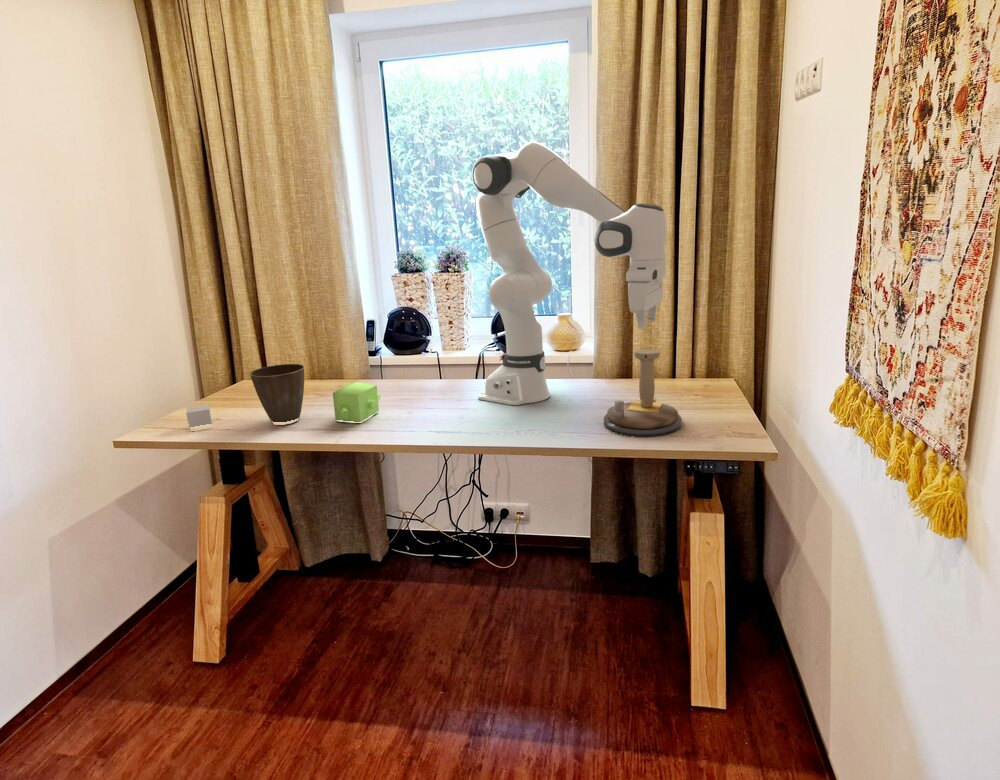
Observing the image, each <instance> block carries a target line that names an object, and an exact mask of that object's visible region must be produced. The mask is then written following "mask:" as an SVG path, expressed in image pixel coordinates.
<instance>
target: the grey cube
mask: <svg viewBox="0 0 1000 780" xmlns="http://www.w3.org/2000/svg"><path fill="white" fill-rule="evenodd" d="M185 414H186V417H187V418H186V419H187V422H188V427H189V429H190V427H195V426H200V425H206V424H213V418H212V414H211V409H210V404H202V405H197V406H195V405H194V406H191V407H186V413H185ZM211 418H212V419H211Z"/></svg>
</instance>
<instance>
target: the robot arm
mask: <svg viewBox="0 0 1000 780" xmlns="http://www.w3.org/2000/svg"><path fill="white" fill-rule="evenodd" d="M471 179H472V183H473V186H474V187H475V189H476V190H477V191H478V192H479V194H478V195H477V197H476V200H475V205H476V207H475V208H476V213H477V219H478V222H479V226H480V229H481V232H482V236H483V238H484V240H485V243H486V247H487V250H488V252H489V255H490V257H491V259H492V260H493V261H494V262H495V263H497V264H498V265H499V267H500V268H501V269H502V270H503V272H504V273H503V274H502V275H500V276H498V277H496V278H495V279H494V280H493V281H492V282H491V283H490V285H489V289H488V298H489V301H490V302H491V304H492V305H493V306H494V308H496V309H497V310H498V314H499V315H500V317H501V320H502V324H503V327H504V333H505V334H504V335H505V344H506V345H505V346H506V347H505V348H506V352H505V353H503V354H502V355H500V356H499V358H500V359H499V361H502V363H501V365H500V366H498V367H497V369H495V370H494V371H493V372H492V373H490V374H489V375H488V376H487V378H486V381H485V386H484V389H483V390H482V391H480V392H479V394H478V399H479V400H483V401H487V402H494V403H499V404H504V405H511V406H518V405H523V404H531V403H537V402H543V401H545V400H547V399H548V398H550V397H551V394H550V390H549V388H548V384H547V379H546V374H545V370H546V358H545V351H544V350H543V349H544V348H543V329H542V328H543V327H542V325H541V324H540V323H539V322H538V321H537V319H536V318H537V317H536V316H535V313H534V309H533V305H537V304H539V303H541V302H542V301H544V300H545V299H546V298H547V297H548V296H549V295H550V293H551V291H552V289H553V288H552V287H553V282H552V278H551V276H550V275H549V274H548V272H546V271H545V270H544V269H543V268H542V267H541V266H540V265H539V263H538V262H537V260H536V258H535V256H533V254H532V252H531V250H530V248H529V247H528V245H527V242H526V239H525V237H524V234H523V231H522V228H521V226H520V223H519V219H518V216H517V214H516V211H515V207H514V201H515V198H516V199H521V198H522V197H523V196H524V195H525V194H526V192H528V191H530V189H531V190H532V191H534V193H535V194H536V195H538V196H539V197H540V198H541V199H543V200H544V201H545V202H547V203H549V204H550V205H552V206H554V207H558V208H565V209H566V208H567V209H571V210H577V211H580V212H584V213H586V214H588V215H589V216H591V217H592V218H593V219H595V221H597V222H598V223H600V224H599V225H598V226H597V227H596V229H595V231H594V235H593V236H594V237H593V240H594V245H595V246H594V247H595V249H596V250H597V252H598V253H599V254H600V255H601V256H603V257H607V258H619V257H626V256H629V268H628V270H627V271H626V274H625V281H626V282H628V284H627V296H628V299H627V300H628V308H629V311H630V313H633V314H634V313H635V317H636V322H637V329H645V328H646V327H647V322H649V323H653V322H655V321H656V317H657V316H656V314H657V310H658V304H659V303H661V302H662V301H663V298H664V278H665V277H666V273H667V272H666V268H667V267H666V266H667V257H666V250H665V249H666V248H665V246H666V242H667V219H666V213H665V211H664V208H663V207H661V206H659V205H658V204H657V205H656V204H651V203H636V204H633V205H632V206H631V208H629V209H628V210H626V211H625V210H624V209H622V208H621V207H620V206H618V205H617V203H615V202H614V201H612V200H611V199H610V198H608V197H607V196H606V195H605V194H604V193H602V192H601V191H599V190H598V189H597V188H596V187H594V186H593V185H592V184H591V183H589V181H588V180H586V179H585V178H584V177H583V176H582V175H580V174H579V173H578V172H577V171H576V170H575V169H574V168H573V167H572V166H571V165H570V164H569V163H568V162H566V161H565V160H564V159H563V157H561V156H559V154H557V153H556V152H555V151H553V150H552V149H550V148H549V147H547V146H546V145H544V144H542V143H541V142H538V141H528V142H526V143H525V144H523V145H522V146H521V147H519V149H518V151H517V152H516V153H515V152H502V153H497V154H488V155H484V156H482V157H480V158H478V159H477V160H476V161H475V163H474V164H473V167H472V169H471ZM647 311H648V312H647ZM646 312H647V313H646ZM646 315H647V319H646Z"/></svg>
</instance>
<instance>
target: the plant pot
mask: <svg viewBox="0 0 1000 780" xmlns="http://www.w3.org/2000/svg"><path fill="white" fill-rule="evenodd" d="M249 375H250V379H251V381H252V384H253V388H254V391H255V392H256V396H258V399H259V401H260V404H261V405H262V406H261V407H262V408H263V409H264V412H265V414H266V415H267V417H268V418H269V420H270V422H271V421H273V422H287V421H291V420H295V419H297V418H299V417H300V416H301V413H302V406H303V402H304V401H303V400H304V393H305V392H304V391H305V366H304V365H303V364H298V363H285V364H284V363H282V364H275V365H267V366H264V367H260V368H256V369H255V370H252V371H251V372H250V373H249ZM300 418H301V417H300ZM300 418H299V419H300Z"/></svg>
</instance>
